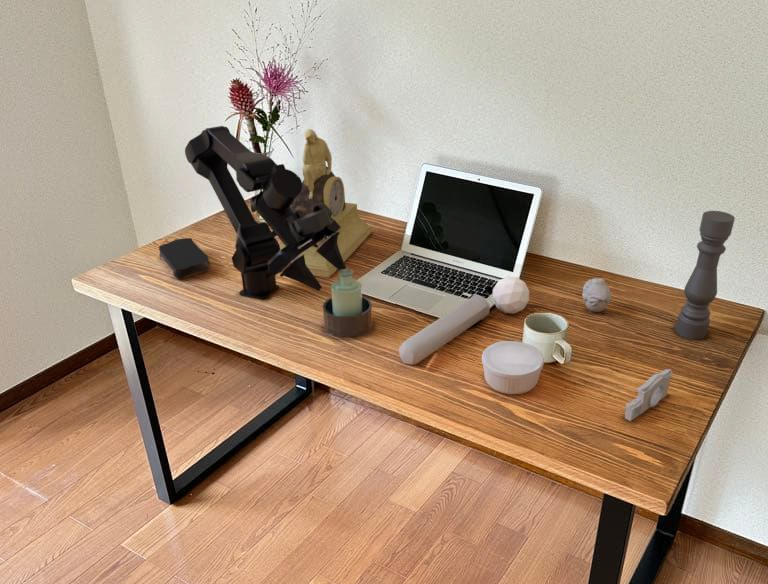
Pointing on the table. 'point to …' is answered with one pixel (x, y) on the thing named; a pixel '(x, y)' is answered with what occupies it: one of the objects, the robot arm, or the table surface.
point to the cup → (347, 321)
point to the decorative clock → (327, 204)
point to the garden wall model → (649, 394)
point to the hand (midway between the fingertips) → (332, 280)
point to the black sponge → (184, 258)
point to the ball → (510, 295)
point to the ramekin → (512, 366)
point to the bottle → (346, 295)
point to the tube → (444, 330)
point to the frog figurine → (596, 294)
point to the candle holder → (704, 275)
